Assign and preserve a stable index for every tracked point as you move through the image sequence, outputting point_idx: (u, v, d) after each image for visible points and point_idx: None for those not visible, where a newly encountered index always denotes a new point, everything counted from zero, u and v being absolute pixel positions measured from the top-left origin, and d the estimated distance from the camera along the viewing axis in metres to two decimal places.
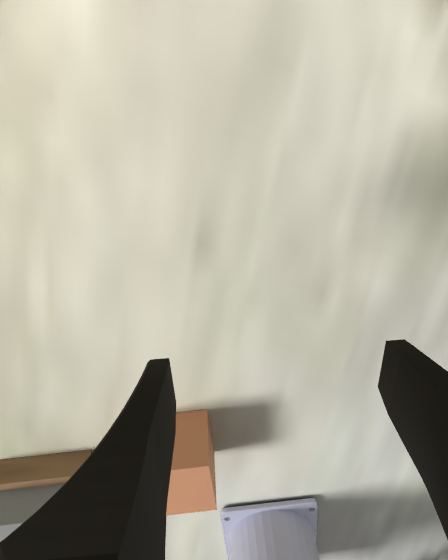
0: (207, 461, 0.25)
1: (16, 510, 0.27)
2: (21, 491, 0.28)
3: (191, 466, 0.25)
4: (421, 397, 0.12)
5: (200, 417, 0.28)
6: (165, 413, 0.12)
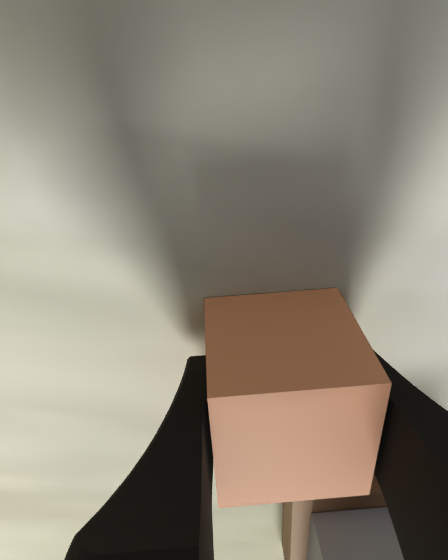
0: (207, 390, 0.10)
1: None
2: None
3: (210, 426, 0.11)
4: None
5: None
6: None
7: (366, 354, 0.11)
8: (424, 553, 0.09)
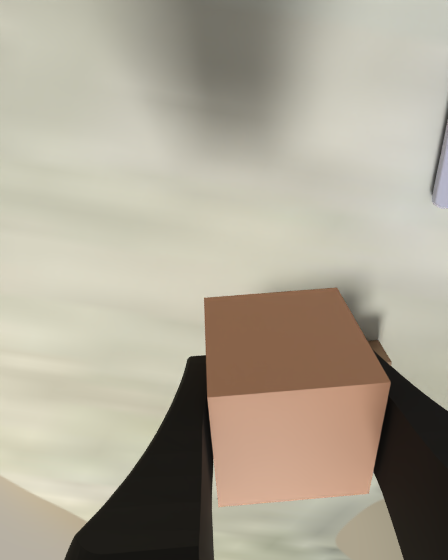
0: (207, 390, 0.10)
1: None
2: None
3: (210, 425, 0.11)
4: None
5: None
6: None
7: (365, 353, 0.11)
8: (424, 553, 0.09)
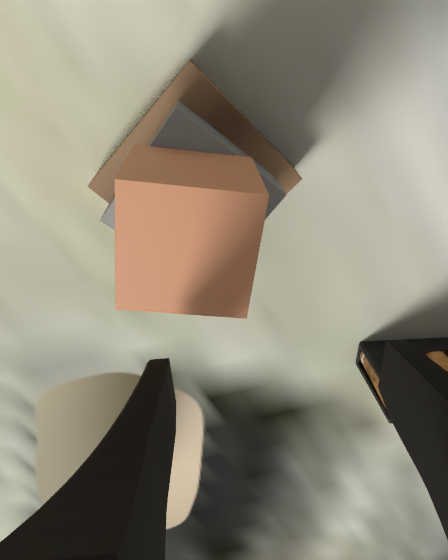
0: None
1: None
2: None
3: (115, 213, 0.12)
4: (421, 397, 0.12)
5: None
6: (165, 413, 0.12)
7: (256, 183, 0.13)
8: None
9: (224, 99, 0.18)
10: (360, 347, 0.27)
